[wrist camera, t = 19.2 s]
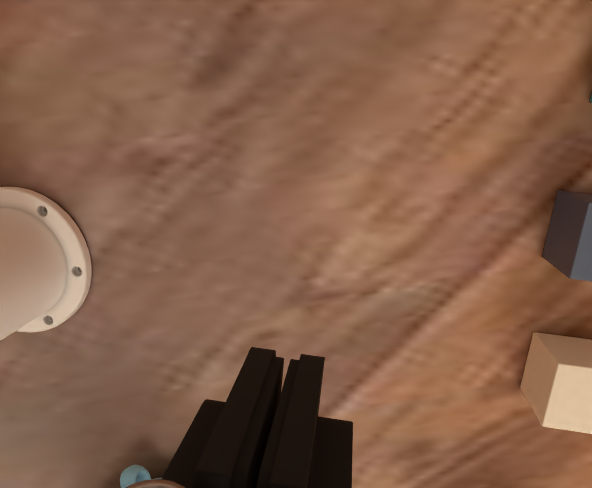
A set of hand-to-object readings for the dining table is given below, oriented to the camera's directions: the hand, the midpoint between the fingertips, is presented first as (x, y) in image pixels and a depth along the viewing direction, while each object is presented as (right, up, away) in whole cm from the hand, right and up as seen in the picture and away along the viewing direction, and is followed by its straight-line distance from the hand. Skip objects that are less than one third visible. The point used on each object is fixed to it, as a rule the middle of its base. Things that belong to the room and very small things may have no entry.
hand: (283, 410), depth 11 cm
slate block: (+21, +5, +24) cm, 33 cm away
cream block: (+21, -6, +27) cm, 35 cm away
